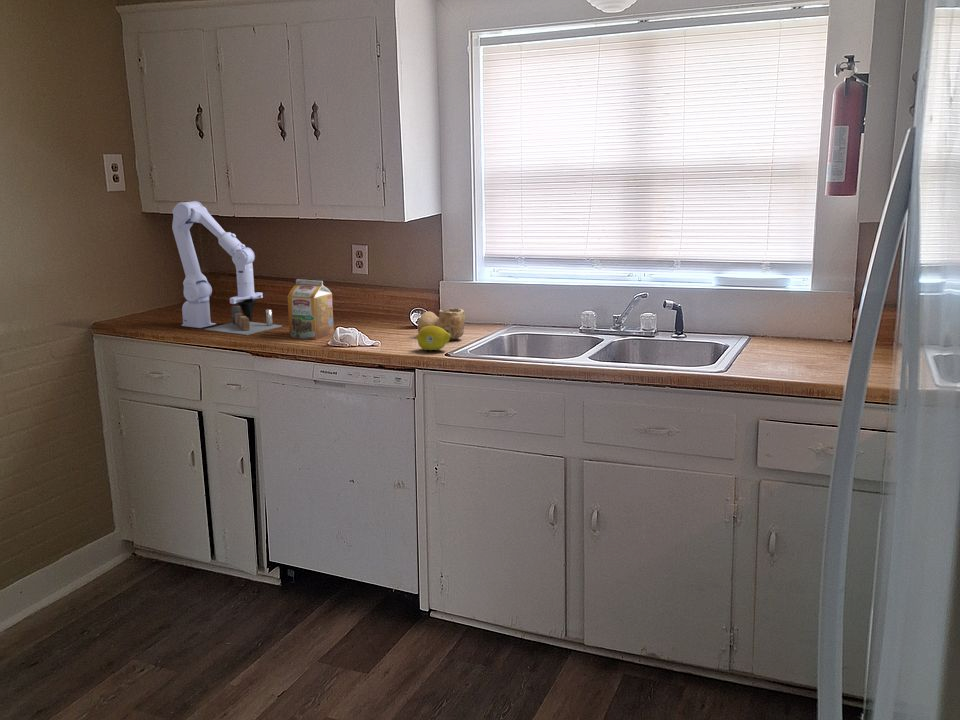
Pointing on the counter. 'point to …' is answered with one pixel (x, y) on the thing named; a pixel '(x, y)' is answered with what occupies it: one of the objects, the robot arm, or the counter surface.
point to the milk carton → (310, 310)
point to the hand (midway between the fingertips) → (248, 320)
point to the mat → (237, 330)
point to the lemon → (432, 338)
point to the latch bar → (239, 318)
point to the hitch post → (269, 317)
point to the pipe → (445, 321)
